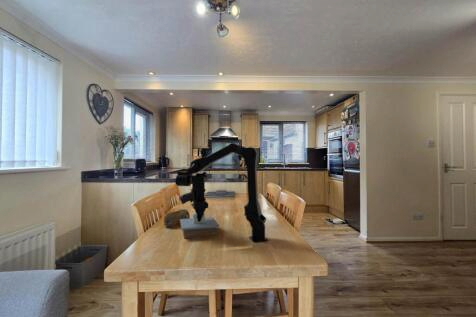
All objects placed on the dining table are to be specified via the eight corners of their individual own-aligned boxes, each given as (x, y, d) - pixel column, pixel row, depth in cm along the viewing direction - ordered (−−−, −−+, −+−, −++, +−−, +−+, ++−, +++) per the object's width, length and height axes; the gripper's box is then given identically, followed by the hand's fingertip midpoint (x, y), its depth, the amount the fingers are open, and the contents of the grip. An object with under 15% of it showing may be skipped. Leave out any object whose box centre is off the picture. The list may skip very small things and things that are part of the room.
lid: (219, 227, 110) (219, 216, 110) (181, 230, 106) (181, 218, 106) (212, 218, 126) (212, 208, 126) (179, 220, 121) (179, 210, 121)
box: (216, 238, 111) (216, 226, 111) (184, 241, 107) (184, 229, 107) (211, 229, 124) (211, 219, 124) (182, 231, 121) (182, 221, 121)
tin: (166, 230, 123) (166, 213, 123) (162, 229, 125) (162, 212, 125) (190, 224, 135) (190, 208, 135) (186, 223, 137) (186, 207, 137)
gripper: (179, 185, 122) (179, 217, 123) (181, 189, 104) (181, 227, 105) (202, 184, 125) (202, 215, 126) (208, 188, 108) (208, 225, 108)
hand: (198, 220), depth 116 cm, fingers closed on lid, 3 cm apart
